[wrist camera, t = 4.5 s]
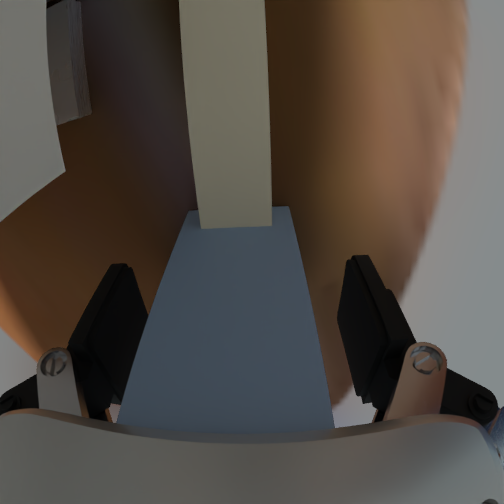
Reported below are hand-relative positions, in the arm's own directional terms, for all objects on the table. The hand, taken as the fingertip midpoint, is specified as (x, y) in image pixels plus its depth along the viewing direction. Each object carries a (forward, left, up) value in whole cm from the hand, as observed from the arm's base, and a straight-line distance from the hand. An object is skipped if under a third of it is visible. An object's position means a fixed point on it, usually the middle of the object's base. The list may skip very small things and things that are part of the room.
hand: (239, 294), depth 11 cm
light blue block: (0, -5, -3) cm, 6 cm away
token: (+8, -9, -3) cm, 13 cm away
